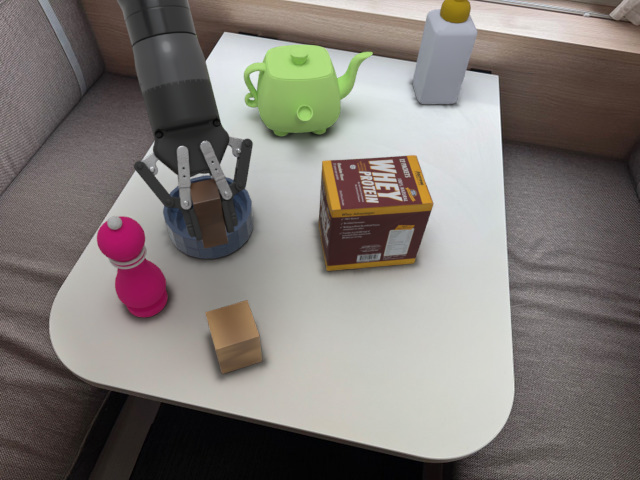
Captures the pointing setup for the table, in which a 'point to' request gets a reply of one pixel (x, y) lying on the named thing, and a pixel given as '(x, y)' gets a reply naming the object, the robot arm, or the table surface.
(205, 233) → the tall bronze square pillar
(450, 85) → the soap bottle
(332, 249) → the supplement box
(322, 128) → the teapot
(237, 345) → the light wooden block
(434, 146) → the table surface
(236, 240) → the bowl
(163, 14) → the robot arm
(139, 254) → the pepper mill
